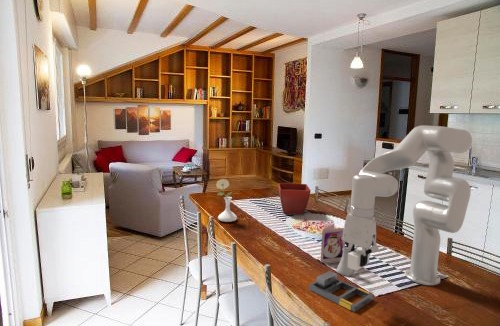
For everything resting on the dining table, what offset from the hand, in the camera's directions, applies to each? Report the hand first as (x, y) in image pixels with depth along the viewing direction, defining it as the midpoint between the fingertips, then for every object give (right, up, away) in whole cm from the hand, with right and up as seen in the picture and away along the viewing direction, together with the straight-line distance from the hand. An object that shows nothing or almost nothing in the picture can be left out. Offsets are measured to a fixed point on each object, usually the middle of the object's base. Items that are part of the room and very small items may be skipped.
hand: (357, 263), depth 119 cm
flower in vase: (-51, 0, +87) cm, 101 cm away
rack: (-4, -13, +7) cm, 15 cm away
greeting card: (-1, -9, +37) cm, 38 cm away
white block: (0, -1, +1) cm, 1 cm away
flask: (+2, -11, +24) cm, 27 cm away
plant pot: (-9, +2, +109) cm, 109 cm away
